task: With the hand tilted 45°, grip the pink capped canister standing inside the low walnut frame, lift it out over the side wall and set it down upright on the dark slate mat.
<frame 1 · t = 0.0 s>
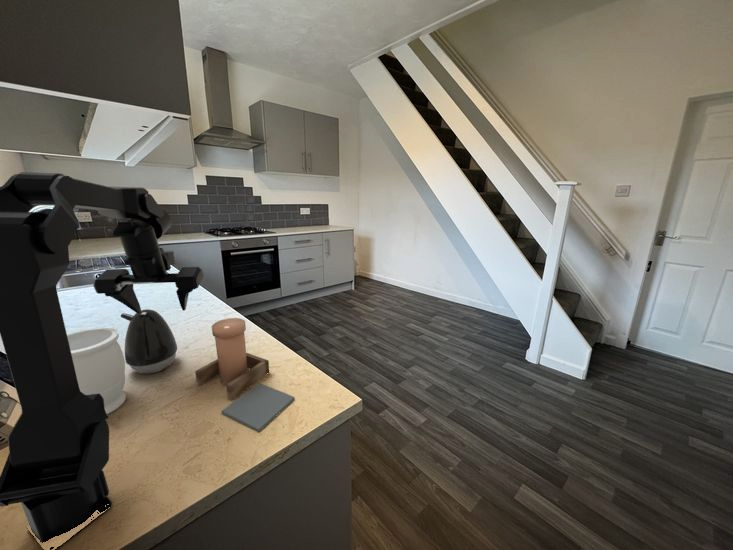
hand: (162, 310, 66), 15 cm above the countertop, tool pointing down, fingers open, 9 cm apart
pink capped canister: (231, 352, 66), in the frame
pump dispenser: (154, 367, 71), on the countertop
frame: (234, 378, 68), on the countertop
mat: (259, 406, 59), on the countertop
jar: (99, 407, 58), on the countertop
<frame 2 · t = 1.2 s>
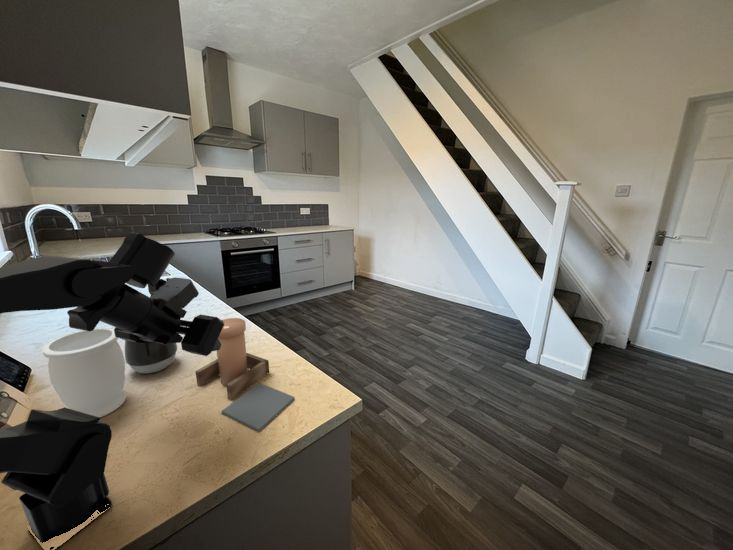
hand: (200, 343, 57), 13 cm above the countertop, tool tilted 45°, fingers open, 9 cm apart
nothing on the countertop moved.
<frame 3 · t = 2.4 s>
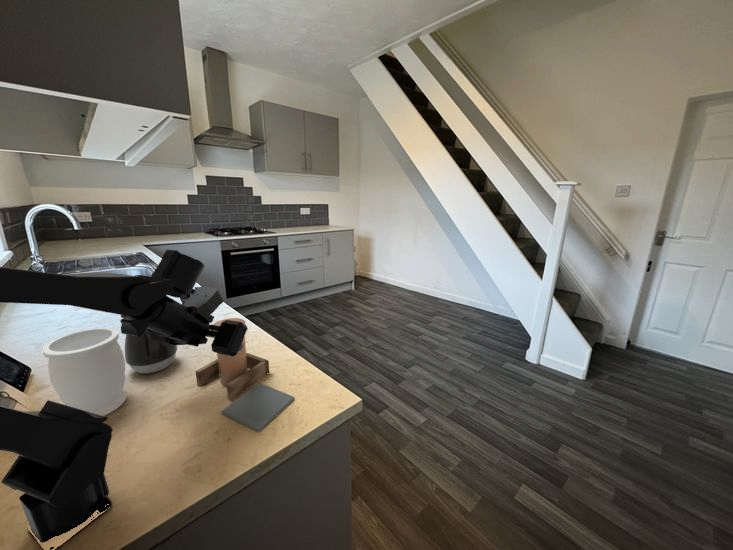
hand: (223, 344, 63), 10 cm above the countertop, tool tilted 45°, fingers open, 9 cm apart
nothing on the countertop moved.
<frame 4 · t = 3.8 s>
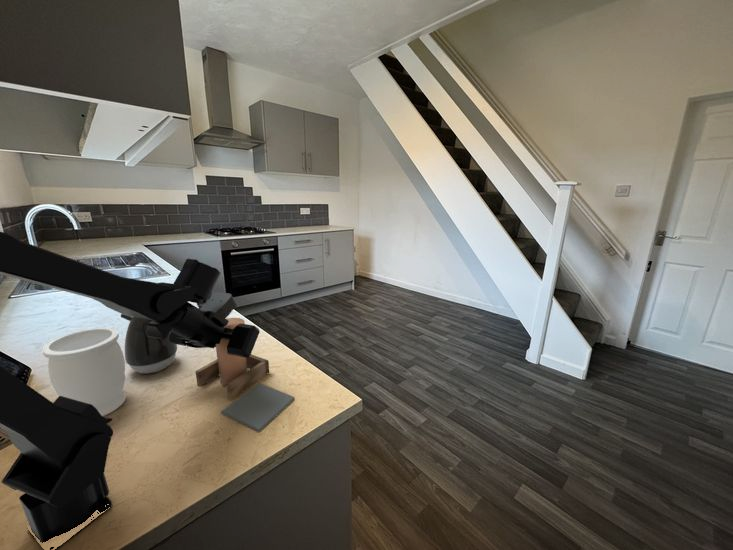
hand: (235, 346, 67), 8 cm above the countertop, tool tilted 45°, fingers closed on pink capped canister, 6 cm apart
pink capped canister: (231, 351, 66), in the frame, touching gripper
everything else where it was.
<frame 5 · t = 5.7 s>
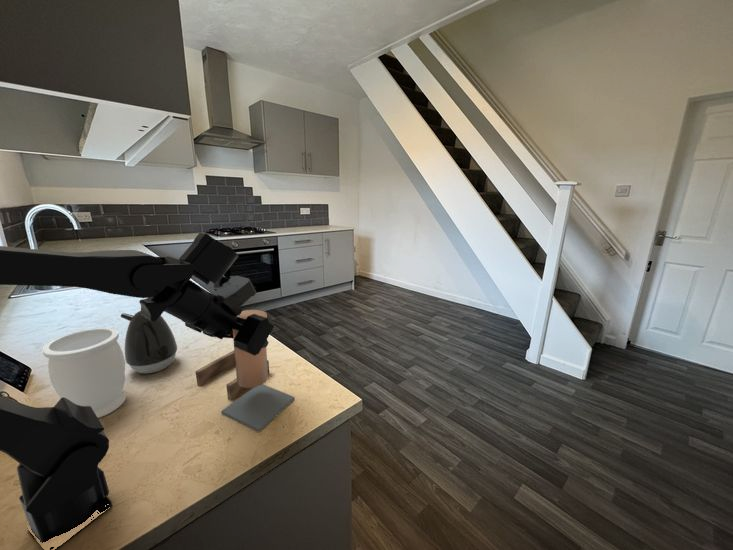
hand: (255, 340, 59), 13 cm above the countertop, tool tilted 45°, fingers closed on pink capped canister, 6 cm apart
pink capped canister: (250, 348, 58), point 12 cm above the countertop, touching gripper
everything else where it was.
when the fingers open (9 cm above the countertop, at t = 7.5 s): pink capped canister stays where it is, resting on mat.
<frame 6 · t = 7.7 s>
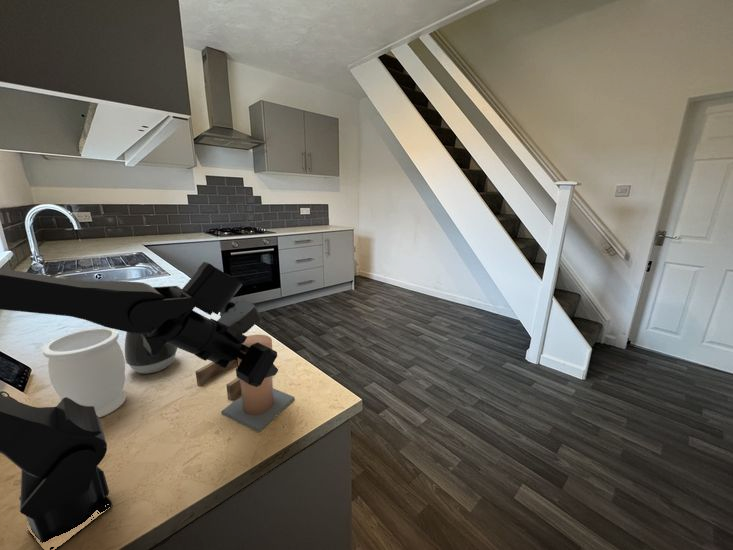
hand: (262, 364, 58), 9 cm above the countertop, tool tilted 45°, fingers open, 8 cm apart
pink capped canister: (255, 374, 57), on the mat, point 8 cm above the countertop
everything else where it was.
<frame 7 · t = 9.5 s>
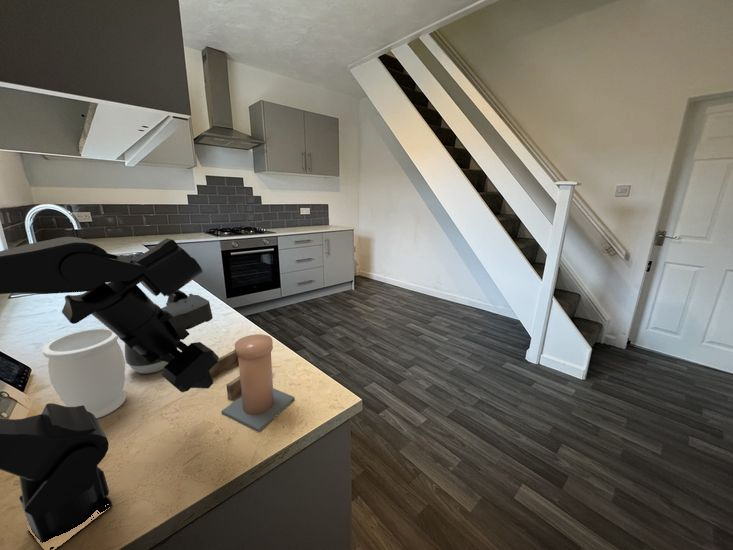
hand: (195, 373, 50), 12 cm above the countertop, tool tilted 30°, fingers open, 9 cm apart
nothing on the countertop moved.
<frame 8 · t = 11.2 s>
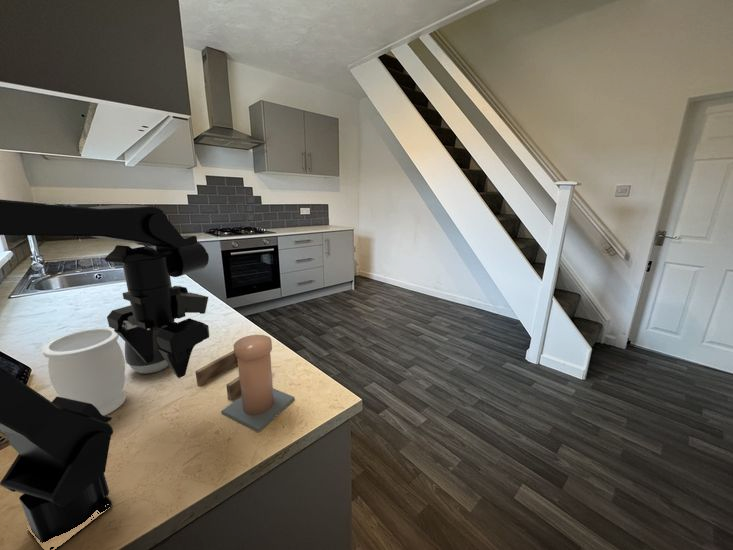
hand: (165, 368, 51), 12 cm above the countertop, tool pointing down, fingers open, 9 cm apart
nothing on the countertop moved.
at the end: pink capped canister inside the target area (0.2 cm from its centre), point 7.7 cm above the countertop; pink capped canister tilted 1°; the gripper is holding nothing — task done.
